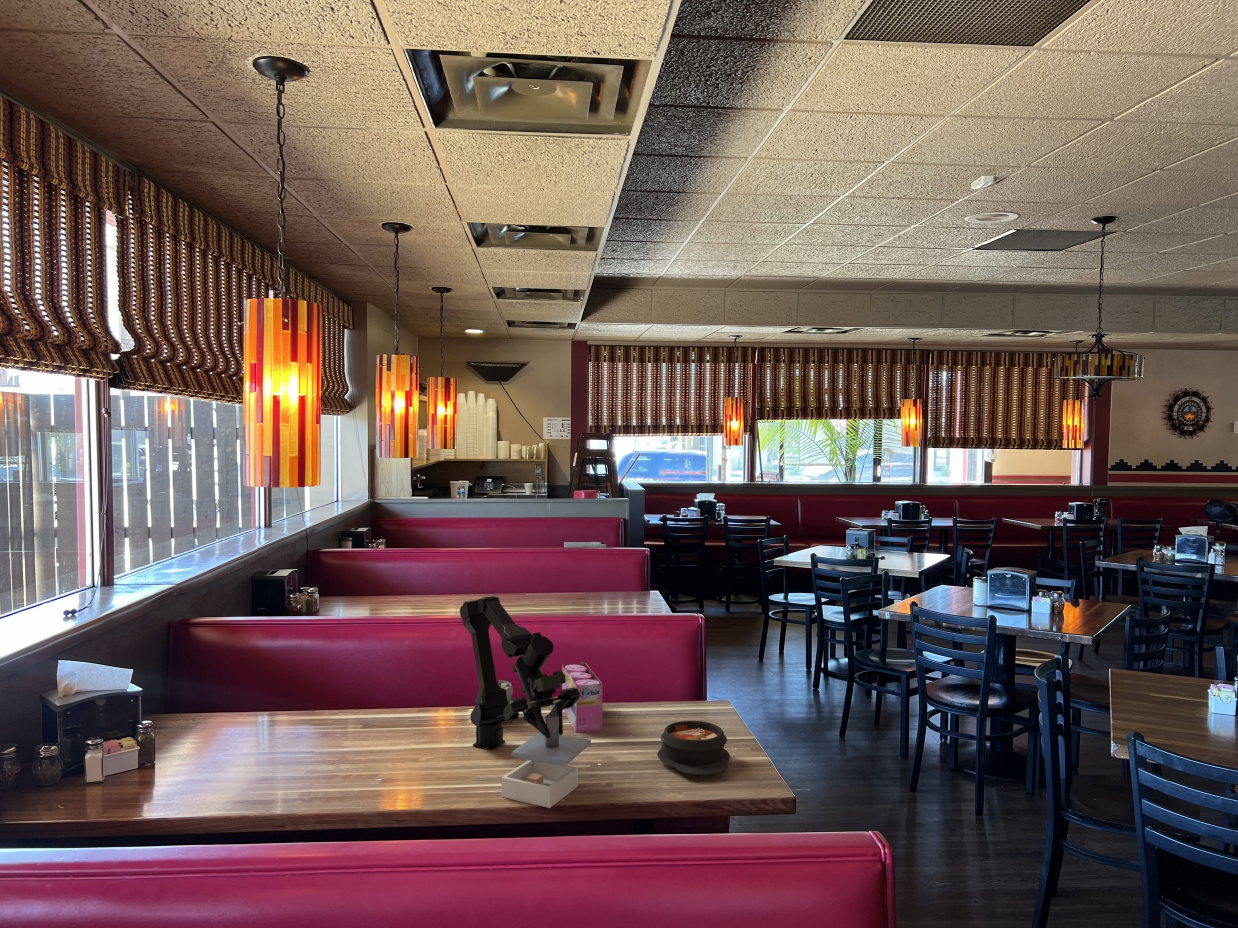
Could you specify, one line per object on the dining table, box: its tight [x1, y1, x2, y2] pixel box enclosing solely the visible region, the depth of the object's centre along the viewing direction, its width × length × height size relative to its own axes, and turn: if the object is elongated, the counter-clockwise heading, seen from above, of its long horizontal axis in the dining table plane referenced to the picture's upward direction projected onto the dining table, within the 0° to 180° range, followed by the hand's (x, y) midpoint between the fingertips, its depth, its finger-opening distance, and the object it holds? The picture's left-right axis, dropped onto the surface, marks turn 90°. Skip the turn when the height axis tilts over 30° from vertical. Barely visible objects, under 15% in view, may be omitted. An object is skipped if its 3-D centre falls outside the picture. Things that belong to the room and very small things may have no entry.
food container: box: [498, 679, 514, 724], centre depth 246 cm, size 12×6×10 cm, turn 168°
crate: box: [501, 760, 579, 809], centre depth 197 cm, size 13×13×4 cm
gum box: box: [561, 662, 604, 733], centre depth 248 cm, size 24×8×14 cm, turn 15°
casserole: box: [656, 720, 731, 776], centre depth 215 cm, size 25×19×8 cm
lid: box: [511, 714, 592, 766], centre depth 199 cm, size 14×14×9 cm
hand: (555, 735), depth 197 cm, fingers closed on lid, 3 cm apart
